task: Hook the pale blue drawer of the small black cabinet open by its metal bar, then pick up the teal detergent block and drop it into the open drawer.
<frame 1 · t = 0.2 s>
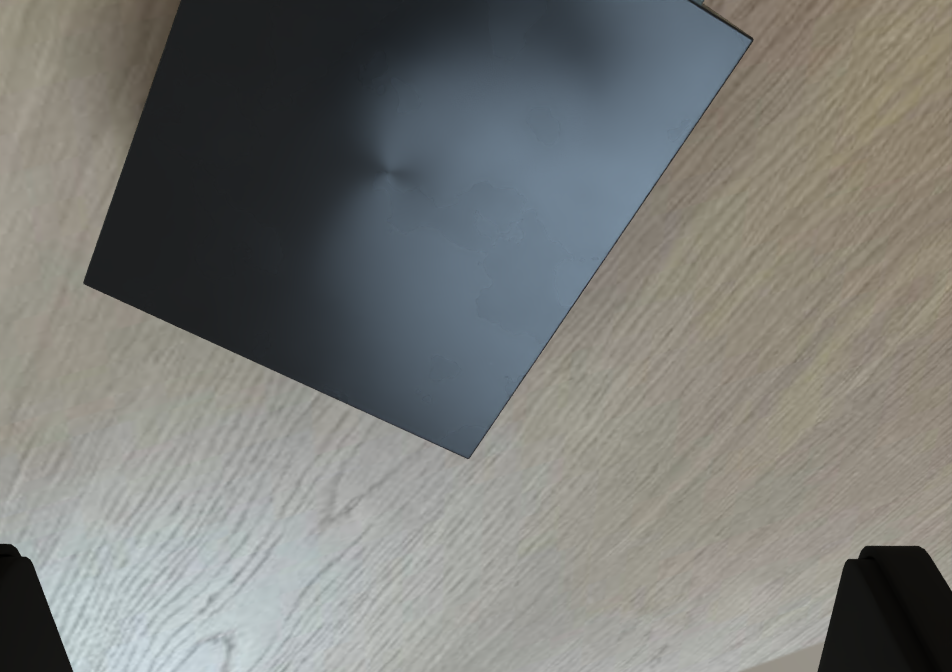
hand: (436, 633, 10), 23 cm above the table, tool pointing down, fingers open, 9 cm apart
small black cabinet: (417, 98, 29), on the table
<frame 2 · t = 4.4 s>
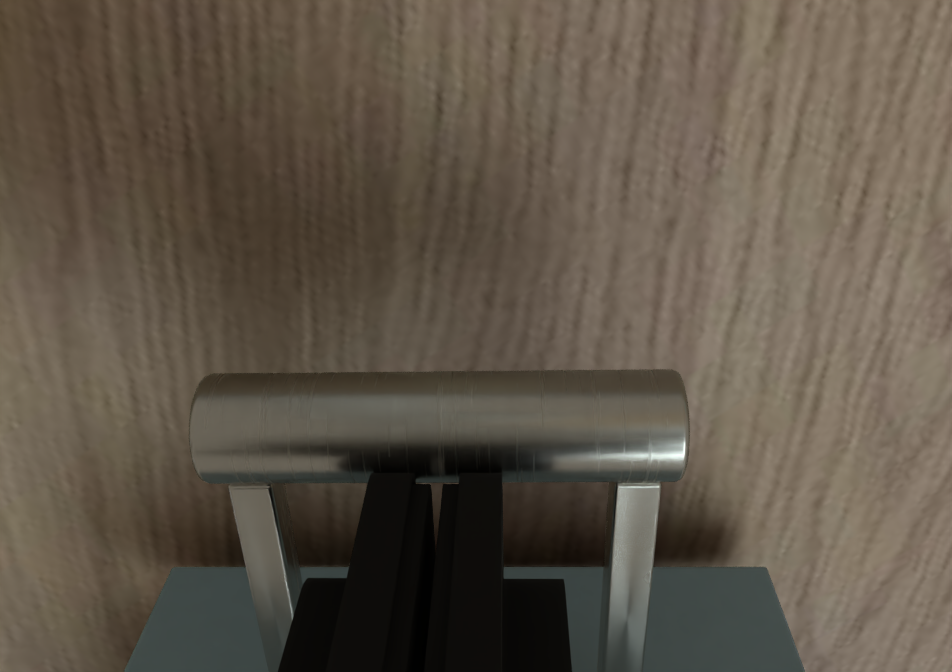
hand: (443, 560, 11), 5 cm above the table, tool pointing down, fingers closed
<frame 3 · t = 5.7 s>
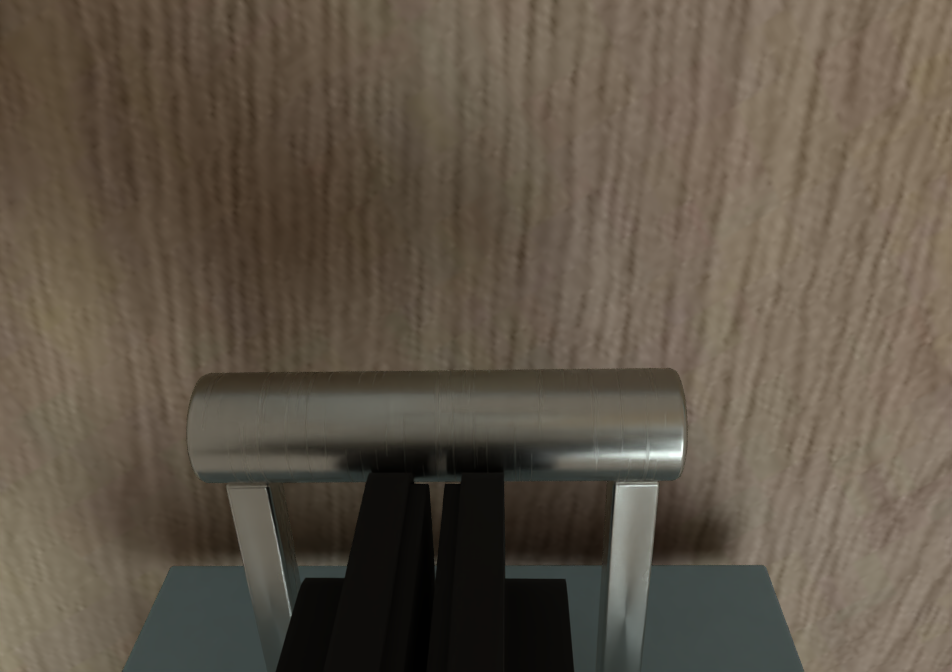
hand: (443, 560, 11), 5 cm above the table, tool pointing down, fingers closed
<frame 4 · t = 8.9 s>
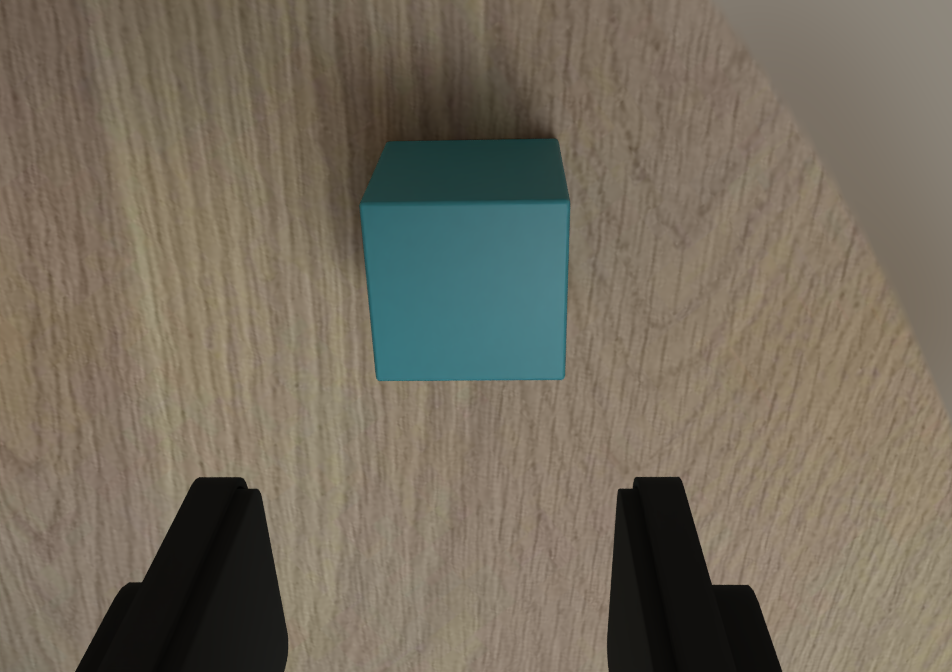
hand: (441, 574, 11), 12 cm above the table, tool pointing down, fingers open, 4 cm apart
detergent block: (474, 220, 22), on the table
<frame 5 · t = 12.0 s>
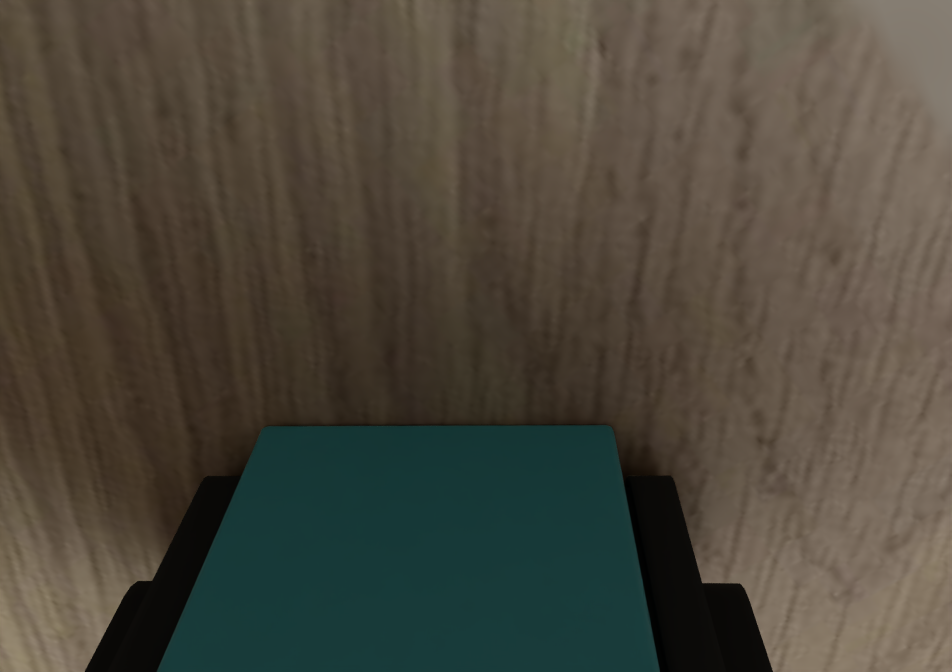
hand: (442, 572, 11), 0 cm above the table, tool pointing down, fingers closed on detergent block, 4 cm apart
detergent block: (443, 554, 11), on the table, touching gripper
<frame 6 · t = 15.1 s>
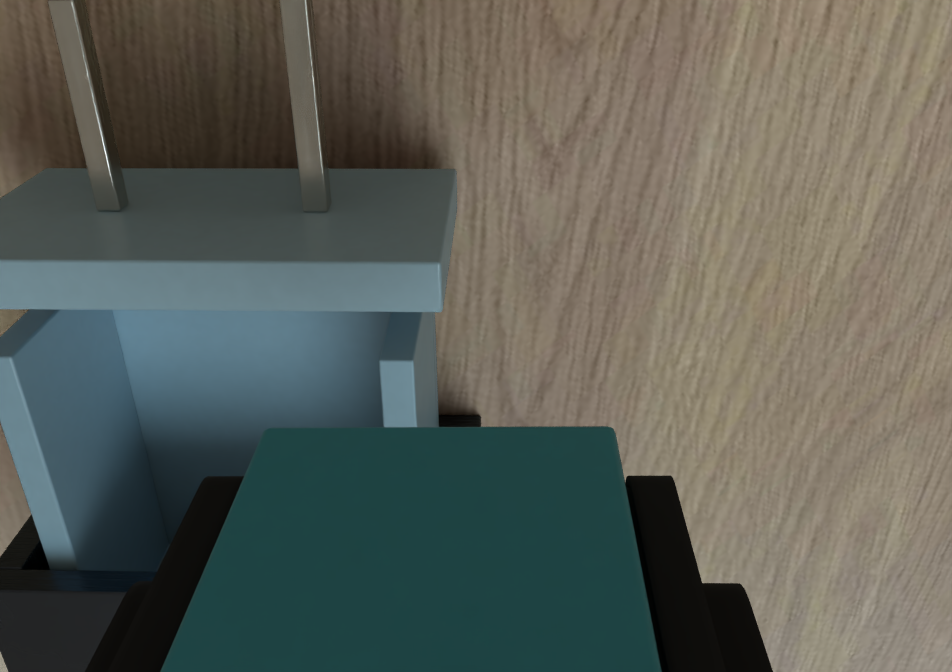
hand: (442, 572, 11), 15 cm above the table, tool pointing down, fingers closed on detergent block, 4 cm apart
detergent block: (445, 556, 11), point 15 cm above the table, touching gripper
small black cabinet: (314, 574, 32), on the table
drawer: (236, 339, 22), point 4 cm above the table, slide at 7.5 cm
when the fingers open (7 cm above the table, at t = 18.4 s): detergent block drops 4 cm, resting on drawer.
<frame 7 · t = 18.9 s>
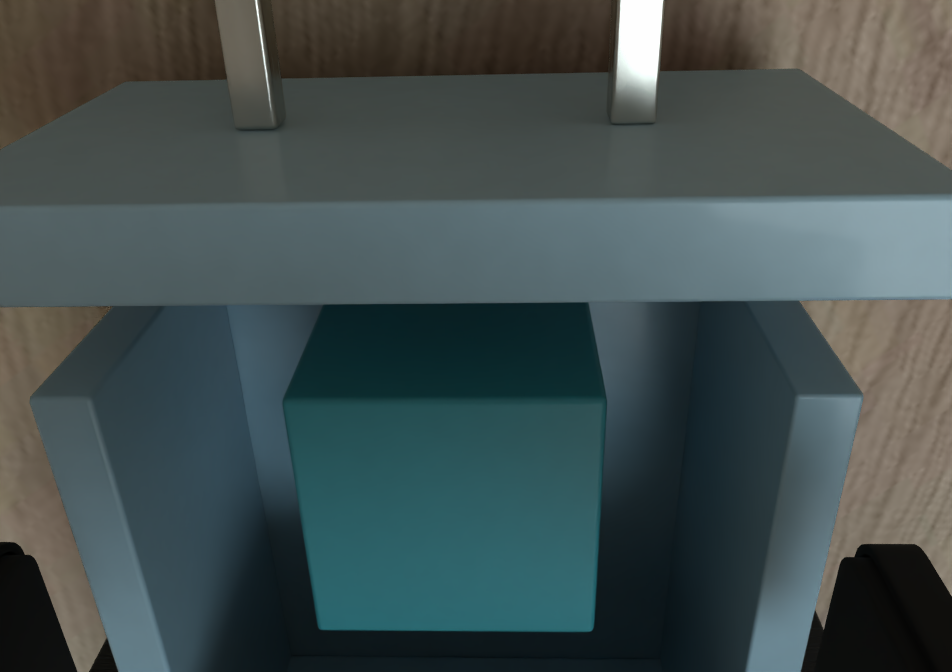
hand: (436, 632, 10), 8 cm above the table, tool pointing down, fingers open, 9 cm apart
detergent block: (463, 365, 16), point 2 cm above the table, touching drawer
drawer: (454, 356, 13), point 4 cm above the table, slide at 7.5 cm, touching detergent block
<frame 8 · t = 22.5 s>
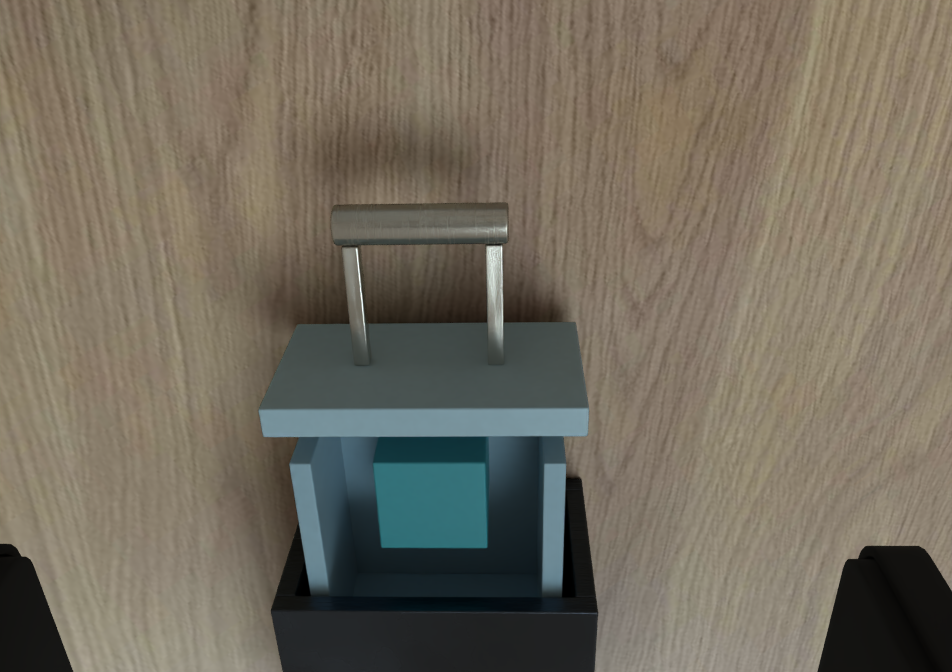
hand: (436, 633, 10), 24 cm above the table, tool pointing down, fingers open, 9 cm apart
detergent block: (439, 438, 36), point 2 cm above the table, touching drawer
small black cabinet: (452, 592, 43), on the table
drawer: (434, 441, 34), point 4 cm above the table, slide at 7.5 cm, touching detergent block
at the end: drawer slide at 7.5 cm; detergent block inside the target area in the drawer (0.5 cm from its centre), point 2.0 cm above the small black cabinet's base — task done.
